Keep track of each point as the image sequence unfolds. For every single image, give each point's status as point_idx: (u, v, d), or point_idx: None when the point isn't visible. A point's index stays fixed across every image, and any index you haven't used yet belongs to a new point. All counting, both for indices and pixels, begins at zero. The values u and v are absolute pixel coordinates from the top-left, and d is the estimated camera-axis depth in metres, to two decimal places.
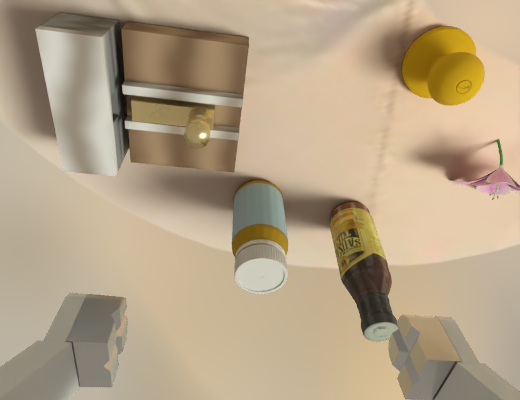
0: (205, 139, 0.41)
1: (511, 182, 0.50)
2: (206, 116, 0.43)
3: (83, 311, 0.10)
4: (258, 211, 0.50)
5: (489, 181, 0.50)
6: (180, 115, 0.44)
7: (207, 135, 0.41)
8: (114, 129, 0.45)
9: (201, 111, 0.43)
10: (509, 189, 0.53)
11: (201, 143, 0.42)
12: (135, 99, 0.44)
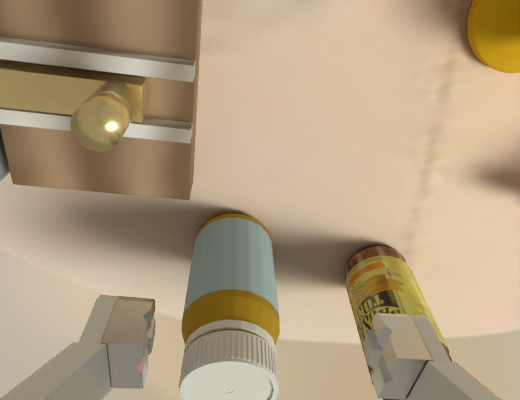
0: (113, 132, 0.21)
1: None
2: (124, 93, 0.23)
3: (115, 313, 0.10)
4: (227, 266, 0.29)
5: None
6: (81, 95, 0.25)
7: (116, 124, 0.21)
8: None
9: (114, 85, 0.23)
10: None
11: (107, 140, 0.22)
12: None
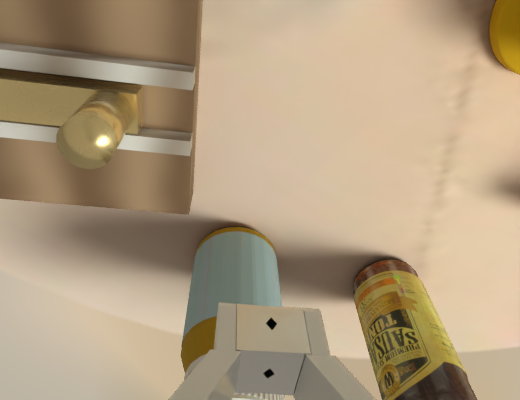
0: (105, 148, 0.19)
1: None
2: (117, 103, 0.21)
3: (240, 320, 0.11)
4: (230, 287, 0.27)
5: None
6: (70, 105, 0.22)
7: (108, 139, 0.19)
8: None
9: (106, 94, 0.21)
10: None
11: (97, 157, 0.19)
12: None
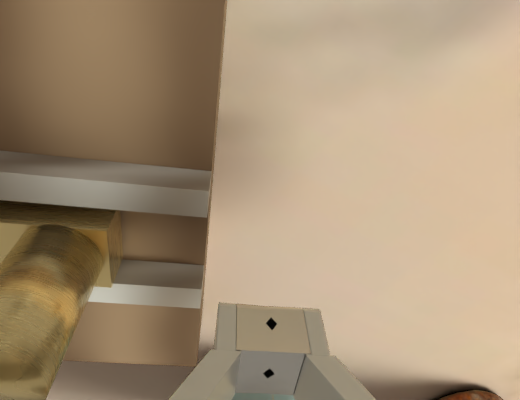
0: (30, 388, 0.09)
1: None
2: (66, 261, 0.11)
3: (240, 320, 0.11)
4: None
5: None
6: None
7: (34, 376, 0.09)
8: None
9: (47, 241, 0.11)
10: None
11: None
12: None
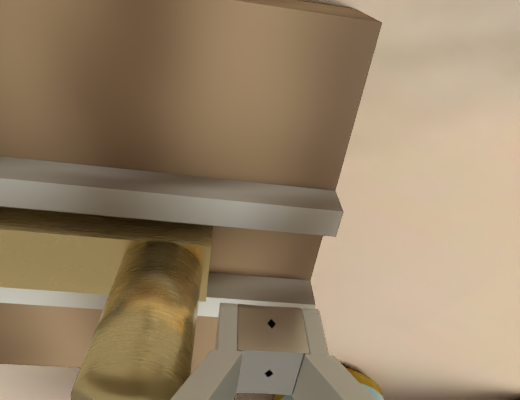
0: None
1: None
2: (181, 278, 0.11)
3: (241, 320, 0.11)
4: None
5: None
6: (92, 263, 0.13)
7: None
8: None
9: (161, 258, 0.12)
10: None
11: None
12: None
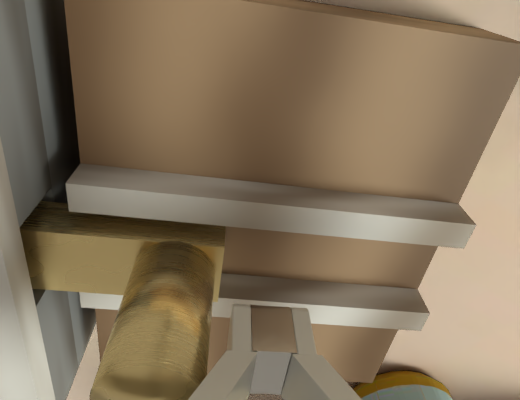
0: None
1: None
2: (196, 279, 0.11)
3: (255, 321, 0.11)
4: None
5: None
6: (105, 263, 0.13)
7: None
8: (42, 319, 0.14)
9: (175, 258, 0.12)
10: None
11: None
12: None
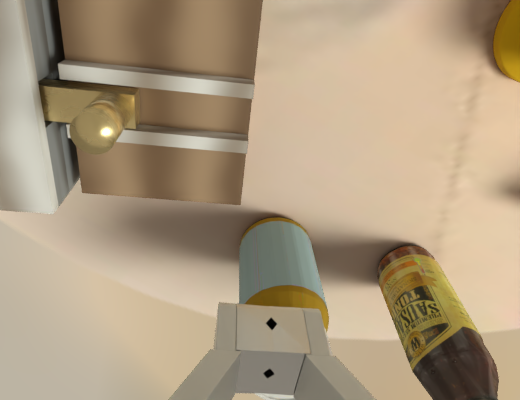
0: (108, 137, 0.24)
1: None
2: (117, 102, 0.26)
3: (240, 320, 0.11)
4: (279, 264, 0.32)
5: None
6: (79, 105, 0.27)
7: (110, 129, 0.24)
8: (48, 138, 0.28)
9: (109, 95, 0.26)
10: None
11: (102, 144, 0.24)
12: None
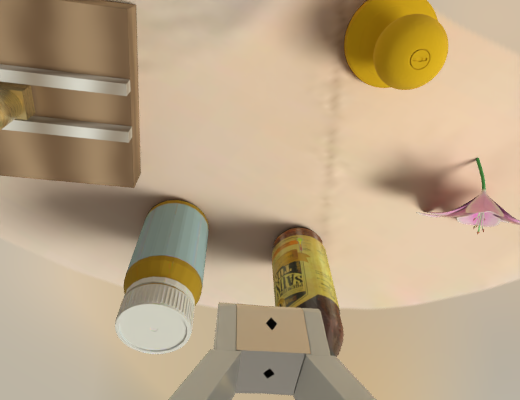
0: None
1: (498, 211, 0.39)
2: (4, 97, 0.31)
3: (240, 320, 0.11)
4: (161, 239, 0.37)
5: (469, 211, 0.39)
6: None
7: None
8: None
9: None
10: (498, 219, 0.42)
11: None
12: None
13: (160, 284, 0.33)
